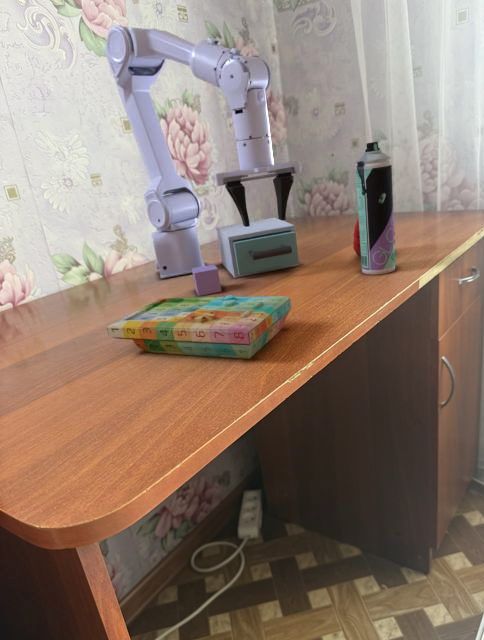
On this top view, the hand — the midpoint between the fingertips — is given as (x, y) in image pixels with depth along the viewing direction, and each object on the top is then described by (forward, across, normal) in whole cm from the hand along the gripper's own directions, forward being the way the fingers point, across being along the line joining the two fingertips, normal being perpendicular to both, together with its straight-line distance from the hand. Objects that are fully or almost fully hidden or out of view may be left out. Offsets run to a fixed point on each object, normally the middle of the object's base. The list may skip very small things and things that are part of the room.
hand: (264, 222), depth 87 cm
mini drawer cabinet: (+9, 0, +10) cm, 14 cm away
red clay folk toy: (+10, +20, 0) cm, 22 cm away
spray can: (+10, +16, -10) cm, 21 cm away
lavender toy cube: (+9, -12, -2) cm, 15 cm away
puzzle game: (+10, -16, -27) cm, 32 cm away
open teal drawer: (+8, 0, +6) cm, 10 cm away
